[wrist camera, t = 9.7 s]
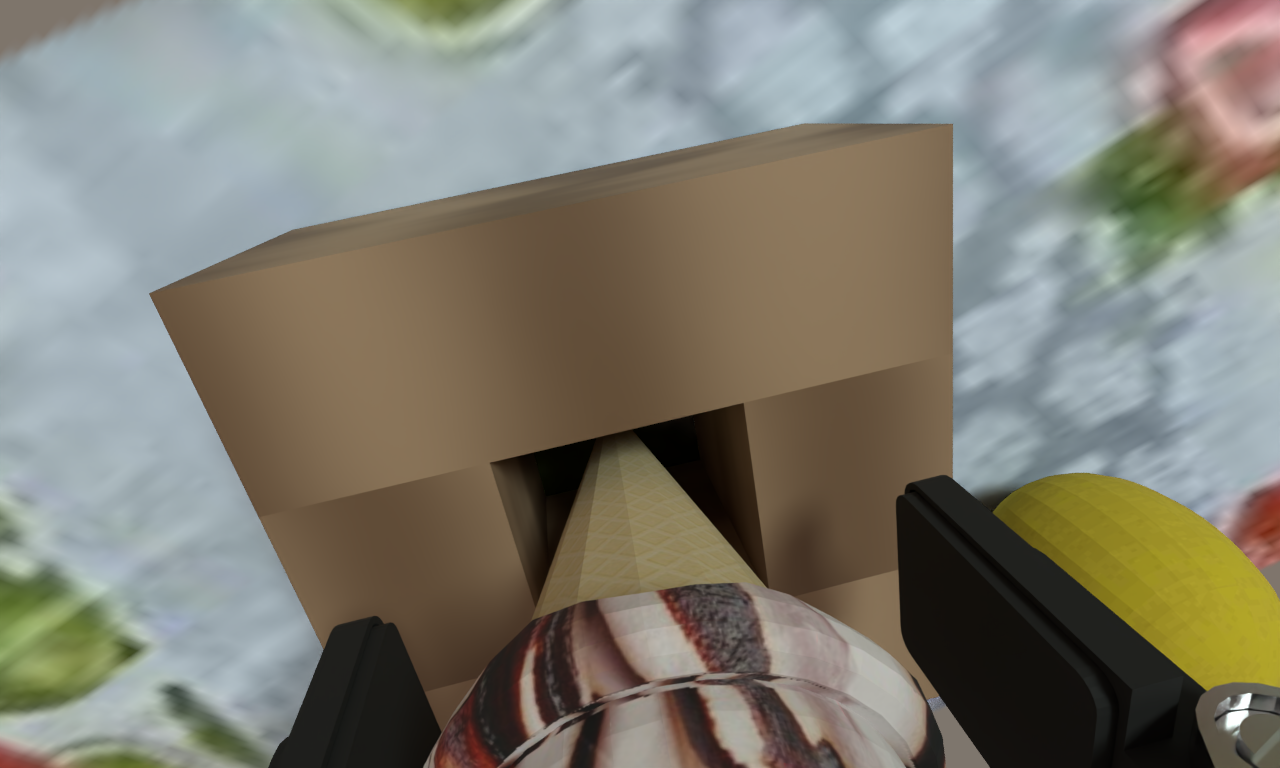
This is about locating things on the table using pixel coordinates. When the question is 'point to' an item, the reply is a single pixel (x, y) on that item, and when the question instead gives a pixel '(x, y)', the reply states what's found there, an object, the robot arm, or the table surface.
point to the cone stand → (591, 376)
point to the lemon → (1156, 572)
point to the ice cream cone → (679, 654)
